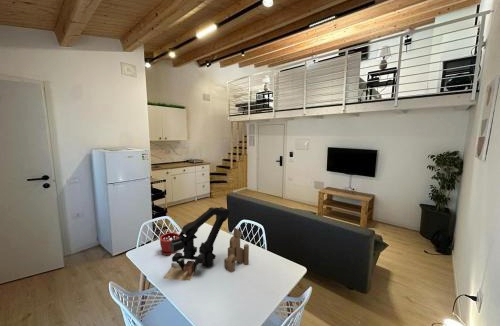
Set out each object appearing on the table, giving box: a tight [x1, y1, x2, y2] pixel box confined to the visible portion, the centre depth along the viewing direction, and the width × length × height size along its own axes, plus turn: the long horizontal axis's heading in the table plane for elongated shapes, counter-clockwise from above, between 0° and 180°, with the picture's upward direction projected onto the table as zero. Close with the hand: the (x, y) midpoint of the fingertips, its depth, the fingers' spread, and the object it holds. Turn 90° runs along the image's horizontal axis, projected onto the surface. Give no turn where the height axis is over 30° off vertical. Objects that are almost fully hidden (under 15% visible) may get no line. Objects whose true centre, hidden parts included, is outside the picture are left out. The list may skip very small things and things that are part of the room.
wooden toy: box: [223, 227, 250, 273], centre depth 141 cm, size 15×7×25 cm, turn 131°
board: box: [162, 262, 198, 281], centre depth 133 cm, size 16×14×4 cm
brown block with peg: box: [183, 260, 195, 279], centre depth 130 cm, size 4×11×6 cm, turn 174°
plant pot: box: [159, 232, 180, 256], centre depth 158 cm, size 13×13×12 cm
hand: (189, 271), depth 133 cm, fingers open, 6 cm apart
